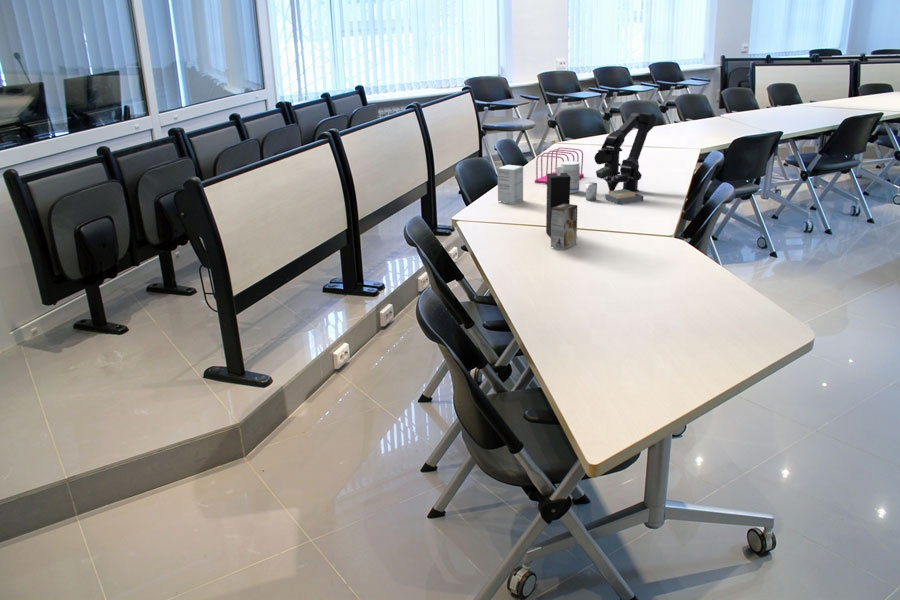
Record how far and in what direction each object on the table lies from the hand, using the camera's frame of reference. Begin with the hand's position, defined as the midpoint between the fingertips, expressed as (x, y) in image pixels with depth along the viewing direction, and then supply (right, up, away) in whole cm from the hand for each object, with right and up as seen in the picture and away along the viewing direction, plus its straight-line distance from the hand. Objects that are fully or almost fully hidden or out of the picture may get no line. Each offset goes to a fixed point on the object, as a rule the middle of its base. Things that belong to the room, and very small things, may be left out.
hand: (611, 193), depth 356 cm
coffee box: (-35, -32, -73) cm, 87 cm away
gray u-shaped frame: (+4, -5, -9) cm, 11 cm away
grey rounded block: (-11, -4, -6) cm, 13 cm away
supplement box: (-50, -5, -3) cm, 50 cm away
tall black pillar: (-35, -26, -58) cm, 73 cm away
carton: (+3, -5, -9) cm, 11 cm away
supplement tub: (-19, +2, +11) cm, 22 cm away
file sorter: (-20, +12, +38) cm, 44 cm away
